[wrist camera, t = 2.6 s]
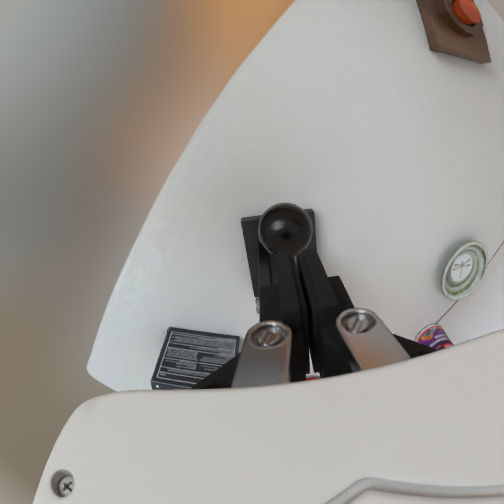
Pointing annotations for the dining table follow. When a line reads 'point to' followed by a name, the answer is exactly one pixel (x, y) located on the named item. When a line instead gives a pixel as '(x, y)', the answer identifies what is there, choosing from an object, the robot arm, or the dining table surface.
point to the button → (466, 11)
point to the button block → (452, 31)
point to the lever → (285, 229)
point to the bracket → (264, 255)
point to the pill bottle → (434, 337)
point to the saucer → (464, 270)
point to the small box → (191, 358)
